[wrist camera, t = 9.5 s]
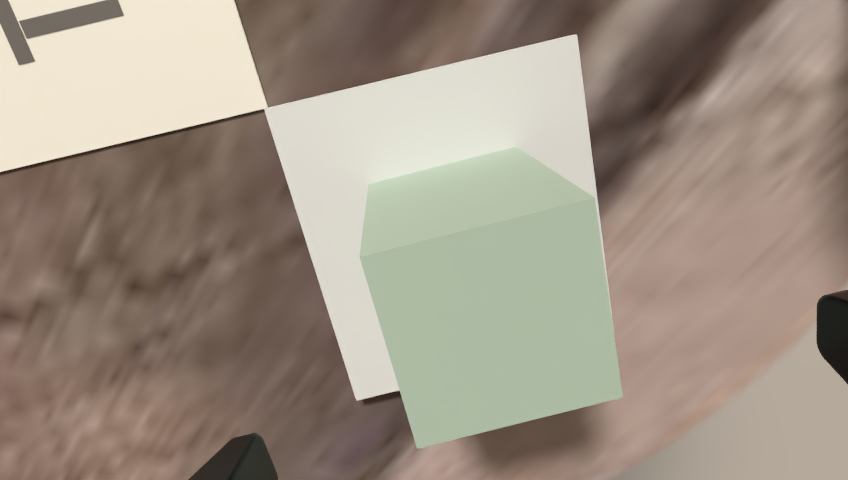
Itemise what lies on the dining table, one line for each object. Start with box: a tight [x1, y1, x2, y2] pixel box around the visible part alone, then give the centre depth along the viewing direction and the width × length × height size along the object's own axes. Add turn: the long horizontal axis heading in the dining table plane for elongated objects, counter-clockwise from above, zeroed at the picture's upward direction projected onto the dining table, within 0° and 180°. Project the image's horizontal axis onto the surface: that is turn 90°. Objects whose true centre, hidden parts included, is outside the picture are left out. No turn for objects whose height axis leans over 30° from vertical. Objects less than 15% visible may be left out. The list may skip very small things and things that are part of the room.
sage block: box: [360, 147, 623, 449], centre depth 15 cm, size 5×5×7 cm
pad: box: [264, 34, 615, 401], centre depth 19 cm, size 10×11×1 cm
